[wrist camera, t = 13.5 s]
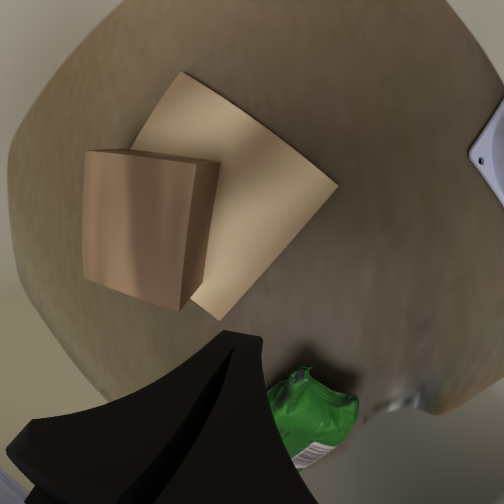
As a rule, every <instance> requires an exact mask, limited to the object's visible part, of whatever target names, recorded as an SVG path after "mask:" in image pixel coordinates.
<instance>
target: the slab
mask: <svg viewBox="0 0 504 504" xmlns="http://www.w3.org/2000/svg"><path fill="white" fill-rule="evenodd" d="M220 165H221V162H217V161H211V160H205V159H199V158H192V157H186V156H179V155H172V154H165V153H157V152H149V151H141V150H132V149H106V150H90V151H86V157H85V168H84V182H83V203H82V251H83V272H84V278H85V279H88V280H90V281H93V282H96V283H98V284H101V285H103V286H106V287H109V288H111V289H114V290H117V291H120V292H122V293H125V294H128V295H131V296H134V297H136V298H139V299H142V300H145V301H148V302H151V303H154V304H157V305H160V306H163V307H166V308H169V309H172V310H175V311H178V312H179V311H180V310H181V309H182V308H183V306H184V305H185V304H186V303H187V301H188V300H189V299H190V298H191V297H192V295H193V294H194V293H195V292H196V290H197V289H198V288H199V287H200V285H201V284H202V283H203V276H204V268H205V261H206V254H207V247H208V240H209V233H210V226H211V220H212V213H213V207H214V201H215V195H216V189H217V183H218V177H219V171H220Z"/></svg>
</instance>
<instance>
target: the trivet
mask: <svg viewBox="0 0 504 504" xmlns="http://www.w3.org/2000/svg"><path fill="white" fill-rule="evenodd" d="M130 149H132V150H141V151H149V152H157V153H165V154H172V155H179V156H186V157H192V158H199V159H205V160H211V161H217V162H221V165H220V171H219V177H218V183H217V189H216V195H215V201H214V207H213V213H212V220H211V226H210V233H209V240H208V247H207V254H206V261H205V268H204V276H203V283H202V284H201V285H200V287H199V288H198V289H197V290H196V292H195V293H194V294H193V295H192V297H191V299H192V300H193V301H195V302H196V303H197V304H198V305H200V306H201V307H202V308H203V309H205V310H206V311H207V312H209V313H210V314H211V315H213V316H214V317H215V318H216V319H218V320H219V321H220V320H221V319H222V318H223V317H224V316H225V315H226V313H227V312H228V311H229V310H230V309H231V308H232V307H233V306H234V305H235V304H236V302H237V301H238V300H239V299H240V298H241V297H242V296H243V295H244V294H245V292H246V291H247V290H248V289H249V288H250V287H251V286H252V285H253V284H254V282H255V281H256V280H257V279H258V278H259V277H260V276H261V275H262V273H263V272H264V271H265V270H266V269H267V268H268V267H269V266H270V264H271V263H272V262H273V261H274V260H275V259H276V258H277V257H278V255H279V254H280V253H281V252H282V251H283V250H284V249H285V247H286V246H287V245H288V244H289V243H290V242H291V241H292V239H293V238H294V237H295V236H296V235H297V234H298V233H299V231H300V230H301V229H302V228H303V227H304V226H305V225H306V223H307V222H308V221H309V220H310V219H311V218H312V216H313V215H314V214H315V213H316V212H317V211H318V210H319V208H320V207H321V206H322V205H323V204H324V203H325V201H326V200H327V199H328V198H329V197H330V196H331V194H332V193H333V192H334V191H335V190H336V189H337V187H338V185H337V184H336V183H334V182H333V181H332V180H331V179H330V178H329V177H327V176H326V175H325V174H324V173H323V172H322V171H320V170H319V169H318V168H317V167H316V166H314V165H313V164H312V163H311V162H309V161H308V160H307V159H306V158H304V157H303V156H302V155H301V154H300V153H298V152H297V151H296V150H294V149H293V148H292V147H291V146H289V145H288V144H287V143H285V142H284V141H283V140H282V139H280V138H279V137H278V136H276V135H275V134H274V133H272V132H271V131H270V130H268V129H267V128H266V127H264V126H263V125H261V124H260V123H259V122H257V121H256V120H255V119H253V118H252V117H250V116H249V115H248V114H246V113H245V112H243V111H242V110H240V109H239V108H237V107H236V106H235V105H233V104H232V103H230V102H229V101H227V100H226V99H224V98H223V97H221V96H220V95H218V94H217V93H215V92H214V91H212V90H210V89H209V88H207V87H206V86H204V85H203V84H201V83H199V82H198V81H196V80H195V79H193V78H191V77H190V76H188V75H186V74H185V73H183V72H181V71H180V73H179V74H178V75H177V77H176V78H175V80H174V81H173V82H172V84H171V85H170V87H169V88H168V90H167V91H166V92H165V94H164V95H163V97H162V98H161V100H160V101H159V103H158V104H157V106H156V107H155V109H154V110H153V112H152V114H151V115H150V117H149V118H148V120H147V121H146V123H145V125H144V126H143V128H142V130H141V131H140V133H139V135H138V136H137V138H136V140H135V141H134V143H133V145H132V147H131V148H130Z"/></svg>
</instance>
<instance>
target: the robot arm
mask: <svg viewBox="0 0 504 504" xmlns="http://www.w3.org/2000/svg"><path fill="white" fill-rule="evenodd" d="M469 158H470V160H471V161H472V163H473V164H474V165H475V167H476V168H477V169H478V171H479V172H480V173H481V175H482V176H483V177H484V179H485V180H486V182H487V183H488V184H489V186H490V187H491V189H492V190H493V192H494V193H495V195H496V196H497V198H498V199H499V201H500V202H501V204H502V206H503V207H504V98H503V100H502V102H501V103H500V105H499V107H498V108H497V110H496V111H495V113H494V115H493V116H492V118H491V119H490V121H489V122H488V124H487V125H486V127H485V128H484V130H483V131H482V133H481V134H480V136H479V137H478V139H477V140H476V142H475V143H474V144H473V146H472V147H471V149H470V150H469ZM479 158H481V164H479V161H478V160H479ZM262 345H263V339H262V338H261V337H260V336H254V335H248V334H242V333H237V332H232V331H226V330H223V331H221V332H220V333H219V334H218V335H217V336H215V337H214V338H213V339H212V340H211V341H210V342H209V343H207V344H206V345H205V346H204V347H203V348H202V349H200V350H199V351H198V352H197V353H195V354H194V355H193V356H191V357H190V358H189V359H188V360H186V361H185V362H184V363H182V364H181V365H180V366H178V367H177V368H175V369H174V370H172V371H171V372H169V373H168V374H166V375H165V376H163V377H161V378H160V379H158V380H156V381H155V382H153V383H151V384H149V385H148V386H146V387H144V388H142V389H140V390H138V391H136V392H134V393H132V394H129V395H127V396H125V397H123V398H120V399H117V400H115V401H112V402H110V403H107V404H105V405H102V406H98V407H95V408H92V409H88V410H85V411H81V412H76V413H72V414H68V415H62V416H55V417H49V418H41V419H32V420H31V421H30V422H29V423H28V424H27V425H26V426H25V427H24V429H23V430H22V431H21V432H20V433H19V434H18V435H17V436H16V437H15V439H14V440H13V441H12V442H11V443H10V444H9V445H8V446H7V448H6V454H7V456H8V457H9V458H10V460H11V461H12V462H13V463H14V464H15V465H16V467H18V469H19V470H20V471H21V472H22V473H23V474H24V475H25V476H26V477H27V478H28V479H29V480H30V481H31V482H32V483H33V484H34V485H35V487H34V488H33V489H32V491H31V492H29V491H28V490H26V489H25V488H24V487H23V486H22V485H20V484H19V483H18V482H17V481H16V480H14V479H13V478H12V477H11V476H10V475H9V474H8V473H7V472H6V471H4V470H3V469H2V468H1V467H0V504H318V502H317V501H316V500H315V498H314V497H313V495H312V494H311V492H310V491H309V489H308V488H307V486H306V484H305V483H304V481H303V479H302V478H301V476H300V474H299V473H298V471H297V469H296V467H295V465H294V463H293V461H292V459H291V457H290V455H289V453H288V451H287V449H286V447H285V445H284V443H283V440H282V438H281V435H280V433H279V430H278V428H277V425H276V422H275V420H274V417H273V414H272V410H271V407H270V403H269V400H268V396H267V392H266V387H265V382H264V376H263V370H262V358H261V353H262Z"/></svg>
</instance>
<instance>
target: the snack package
mask: <svg viewBox="0 0 504 504" xmlns="http://www.w3.org/2000/svg"><path fill="white" fill-rule="evenodd" d="M311 368H314V367H305V366H303V365H301V366H299V367H298V368H296V369H295V370H293V371H292V373H291V374H290V375H289V377H288V379H287V380H283V381H281V382H279V383H277V384H276V385H274V386H273V387H272V388H271V389H270V390H269V391H268V392H267V396H268V400H269V403H270V407H271V410H272V414H273V417H274V420H275V422H276V425H277V428H278V430H279V433H280V435H281V438H282V440H283V443H284V445H285V447H286V449H287V451H288V453H289V455H290V457H291V459H292V461H293V463H294V465H295V467H296V469H297V471H298V472H300V471H301V470H302V469H304V468H306V467H308V466H309V465H311V464H313V463H314V462H316V461H318V460H319V459H321V458H322V457H323V456H325V455H326V454H328V453H330V452H331V451H332V450H333V449H335V448H336V447H337V446H338V445H339V444H340V443H342V442H343V440H344V439H345V438H346V437H347V436H348V435H349V433H350V431H351V430H352V428H353V426H354V424H355V422H356V420H357V416H358V411H359V399H358V397H357V396H356V395H353V394H345V393H339V392H336V391H333V390H331V389H329V388H327V387H326V386H324V385H323V384H321V383H319V382H318V381H316V380H315V379H314V378H312V377H311V376H310V373H309V370H310V369H311Z"/></svg>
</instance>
